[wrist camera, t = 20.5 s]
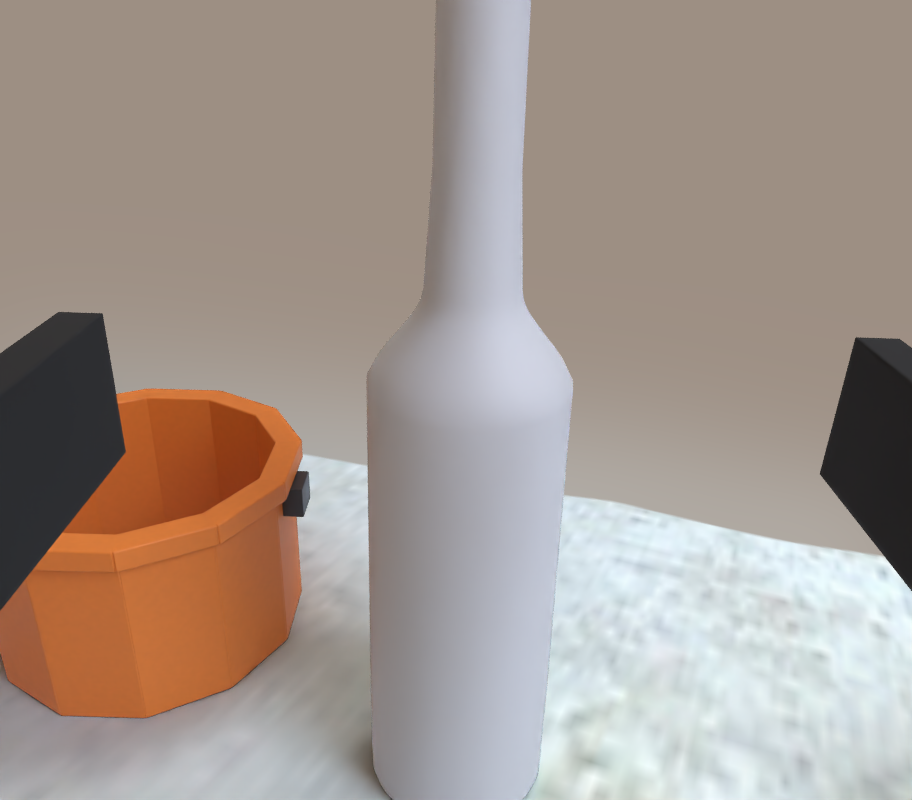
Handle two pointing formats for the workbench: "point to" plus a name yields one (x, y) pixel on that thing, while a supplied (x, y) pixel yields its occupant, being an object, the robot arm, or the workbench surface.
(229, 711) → the workbench surface
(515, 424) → the bottle
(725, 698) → the workbench surface
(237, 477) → the bucket
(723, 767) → the workbench surface
